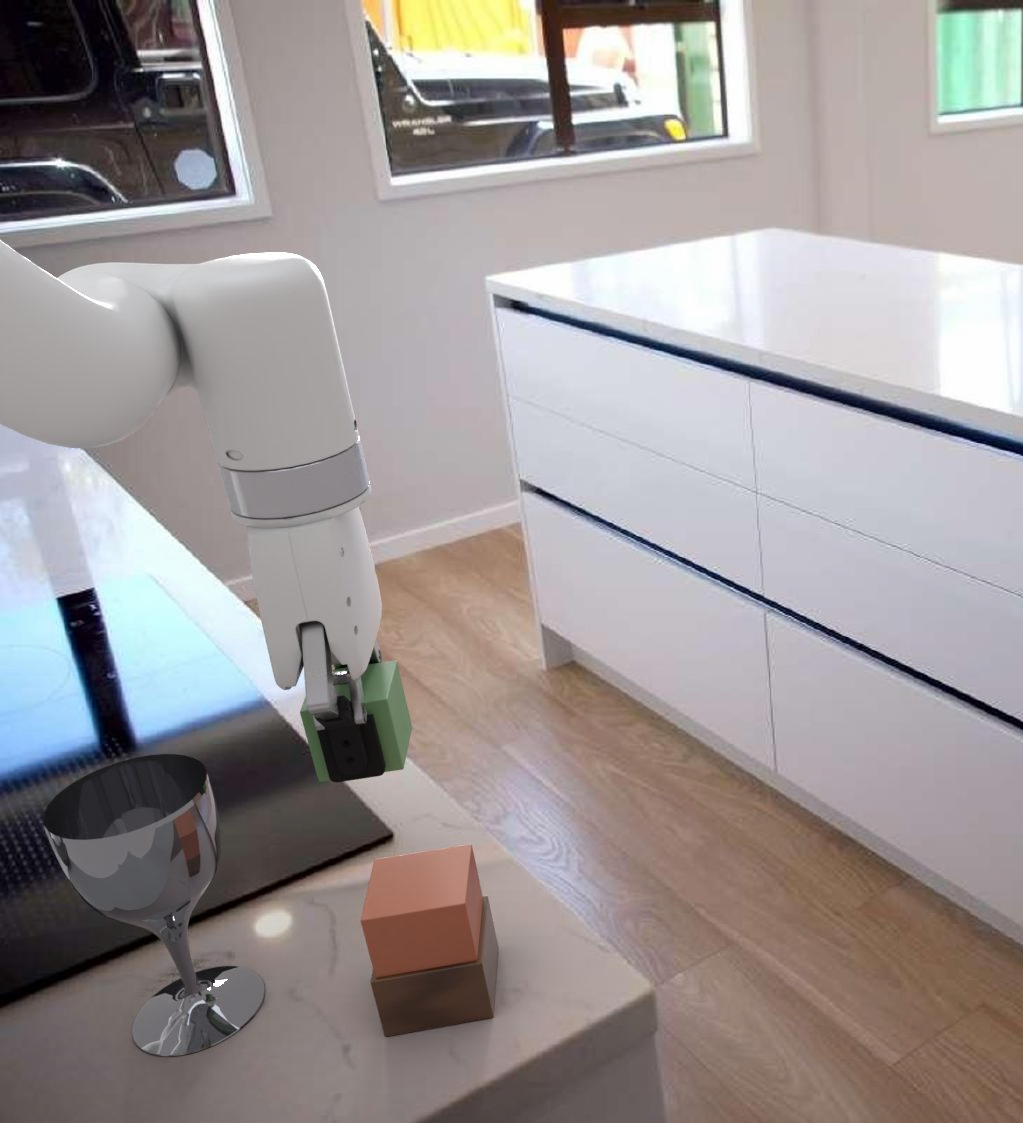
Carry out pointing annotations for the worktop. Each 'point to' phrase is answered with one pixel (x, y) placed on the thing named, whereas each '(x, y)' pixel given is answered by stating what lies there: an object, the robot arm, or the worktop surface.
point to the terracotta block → (423, 910)
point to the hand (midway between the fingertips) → (365, 748)
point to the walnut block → (441, 989)
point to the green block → (388, 712)
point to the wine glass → (155, 885)
